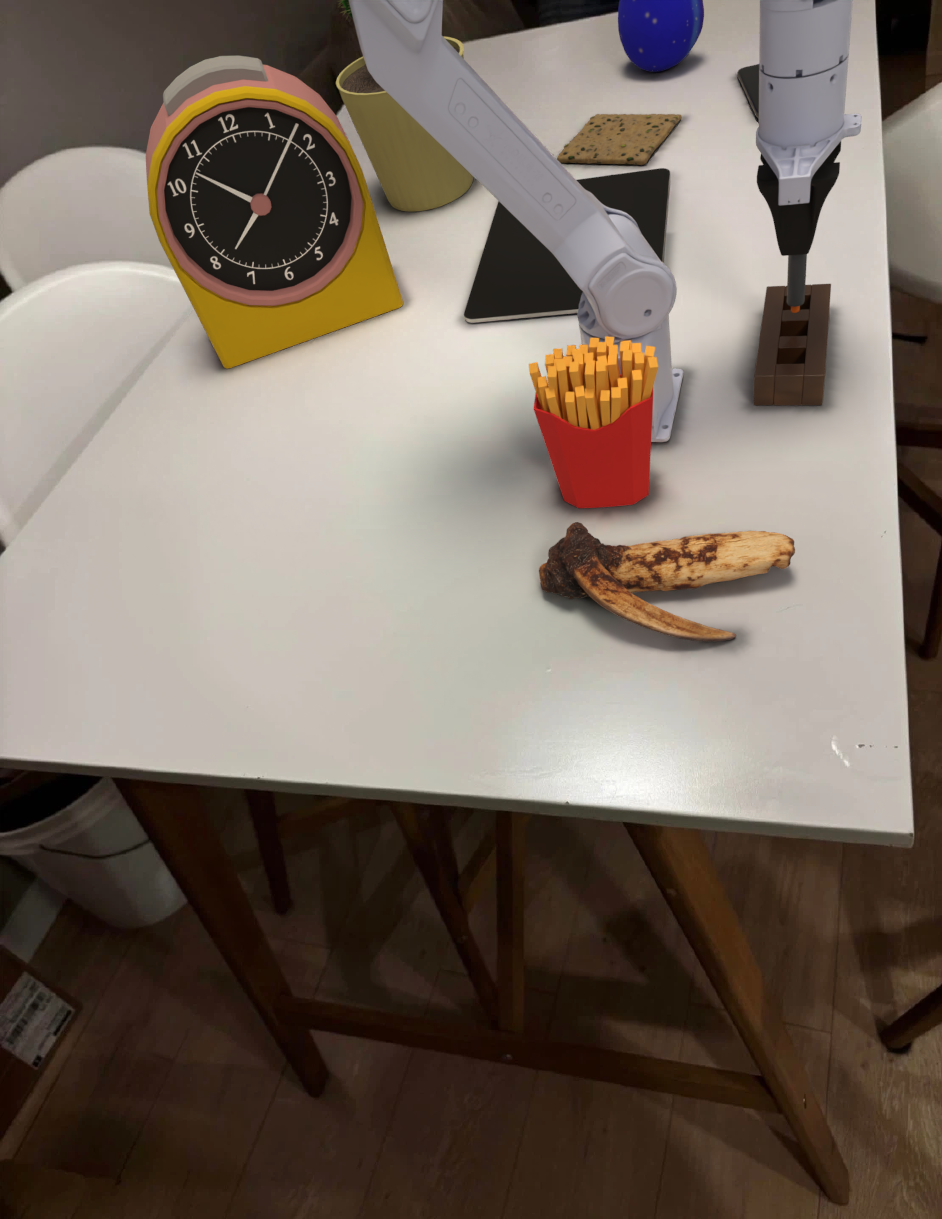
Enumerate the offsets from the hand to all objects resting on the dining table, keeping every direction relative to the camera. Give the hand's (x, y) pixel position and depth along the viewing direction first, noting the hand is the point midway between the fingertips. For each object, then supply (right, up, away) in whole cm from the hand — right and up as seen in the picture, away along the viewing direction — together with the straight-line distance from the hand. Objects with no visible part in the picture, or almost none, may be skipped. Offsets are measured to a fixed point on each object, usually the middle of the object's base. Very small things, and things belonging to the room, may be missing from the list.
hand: (795, 245), depth 70 cm
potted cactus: (-31, +25, +44) cm, 59 cm away
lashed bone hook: (-12, -28, -6) cm, 31 cm away
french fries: (-14, -19, +2) cm, 24 cm away
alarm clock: (-44, +4, +30) cm, 53 cm away
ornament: (0, +46, +52) cm, 69 cm away
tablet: (-14, +11, +27) cm, 33 cm away
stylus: (+2, -4, +4) cm, 6 cm away
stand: (+2, -7, +7) cm, 10 cm away
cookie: (-7, +30, +41) cm, 51 cm away
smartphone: (+12, +35, +40) cm, 55 cm away
